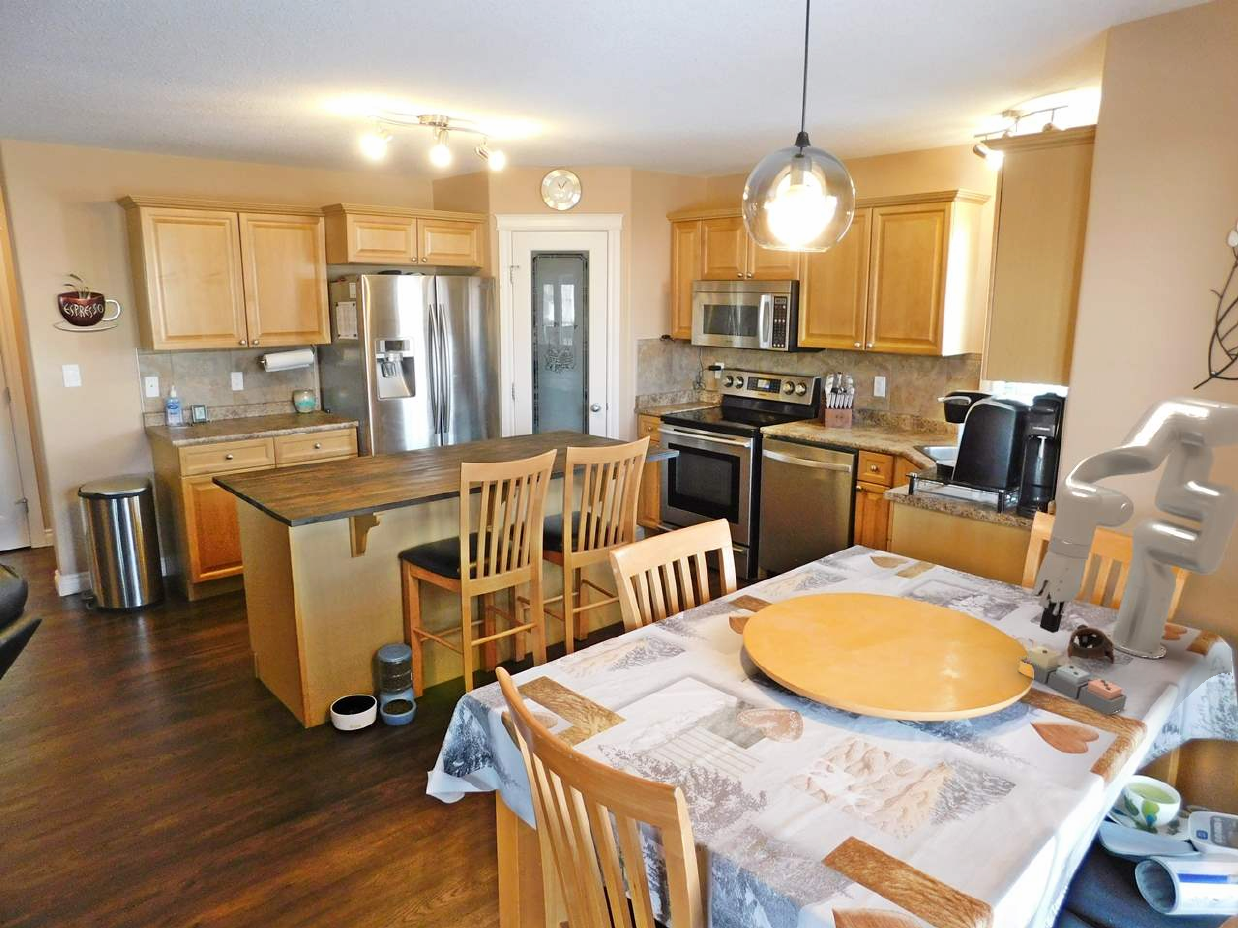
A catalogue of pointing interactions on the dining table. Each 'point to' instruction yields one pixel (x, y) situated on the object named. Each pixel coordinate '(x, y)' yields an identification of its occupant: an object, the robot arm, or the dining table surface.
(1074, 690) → the tile two base
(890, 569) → the dining table surface
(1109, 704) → the tile base
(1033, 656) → the button one
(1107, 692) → the button three
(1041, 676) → the tile one base
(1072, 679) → the button two
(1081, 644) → the pottery mug
